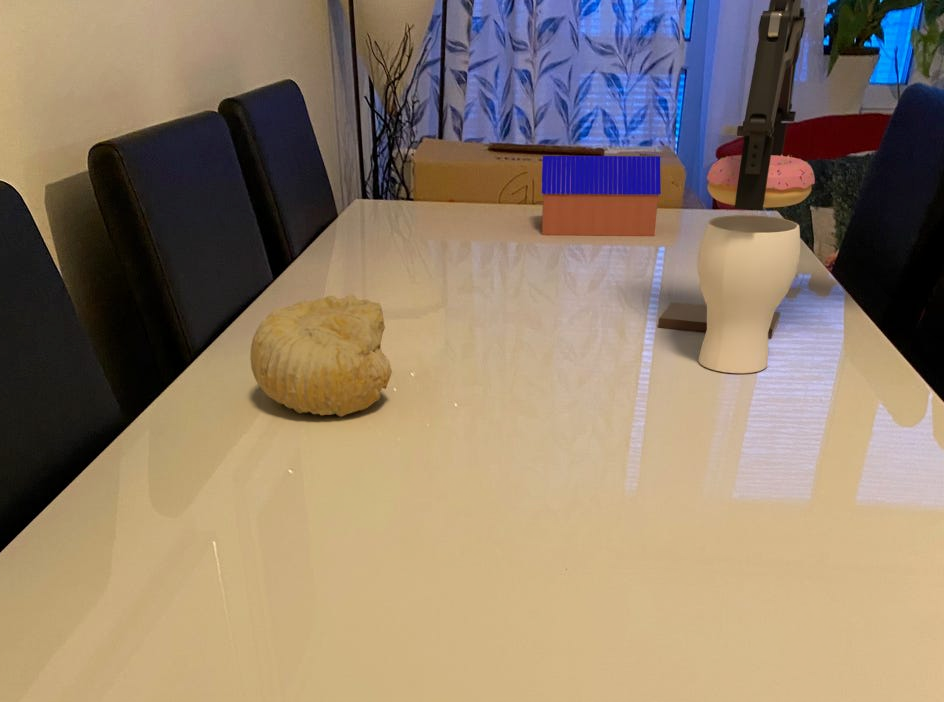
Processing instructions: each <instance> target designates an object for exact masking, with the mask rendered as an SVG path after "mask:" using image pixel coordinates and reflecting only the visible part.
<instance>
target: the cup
mask: <svg viewBox="0 0 944 702" xmlns="http://www.w3.org/2000/svg"><path fill="white" fill-rule="evenodd" d="M800 230H801V229H800V224H799V223H797V222H795V221H793V220H790V219H786V218H781V217H776V216H768V215H767V216H766V215H753V214H752V215H751V214H750V215H749V214H736V215H735V214H734V215H722V216H717V217H713V218H711V219H709V220H708V221H707V223H706V226H705V229H704V232H703V234H702V238H701V241H700V244H699V247H698V255H697V263H696V270H697V277H698V282H699V288H700V290H701V294H702V296H703V299H704V302H705V305H707V331H706V332H705V334H704V338H703V341H702V344H701V348H700V352H699V355H698V360H697V361H698V363H699V364H700V365H701V366H702V367H705V368H706V369H710V370H712V371H716V372H721V373H729V374H751V373H756V372H760V371H763V370H766V368H767V367H768V363H769V339H768V331H769V328H770V325H771V321H772V318H773V315H774V312H776V310H777V308H778V307H779V306H780V304H781V303H782V301H783V300H784V298H785V297H786V296H787V294H788V292H789V291H790V288H791V286H792V284H793V282H794V280H795V277H796V275H797V272H798V267H799V261H800V256H801V231H800Z"/></svg>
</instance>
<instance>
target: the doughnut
mask: <svg viewBox="0 0 944 702" xmlns="http://www.w3.org/2000/svg"><path fill="white" fill-rule="evenodd" d="M741 157H742V154H737V155H729V156H728V155H726V156H725V157H722V156H721V157H720V159H717V160H716V162H713V163H712V165H711V167H710V169H709V170H708V172H707V173H706V175H707V176H706V178H705V179H706V180H707V181H708V184H707V191H708V193H709V195H710V196H711V197H712V198H713V199H714V200H716V201H718V202H720V203H723V204H725V205H730V206H735V200H736V193H737V186H738V179H739V171H740V164H741ZM814 173H815V172H814V170H813V168H812V166H811V164H809V162H808V160H807V161H804V160H802V158H796V157H793V154H791V155H790V154H788V155H787V156H784V155H783V154H782V155H781V156H777V155H776V156H775V155H771V159H770V165H769V172H768V178H767V185H766V192H765V198H764V205H763V209H764V208H766V209H767V208H769V209H770V208H783V207H789V206H794V205H797V204H800V203H801V202H803V201H804V200H806V199H807V197H809V195H810V194H811V192H812V190H813V189H812V186H813V185H815V183H816V181H815V180H816V178H815V174H814Z"/></svg>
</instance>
